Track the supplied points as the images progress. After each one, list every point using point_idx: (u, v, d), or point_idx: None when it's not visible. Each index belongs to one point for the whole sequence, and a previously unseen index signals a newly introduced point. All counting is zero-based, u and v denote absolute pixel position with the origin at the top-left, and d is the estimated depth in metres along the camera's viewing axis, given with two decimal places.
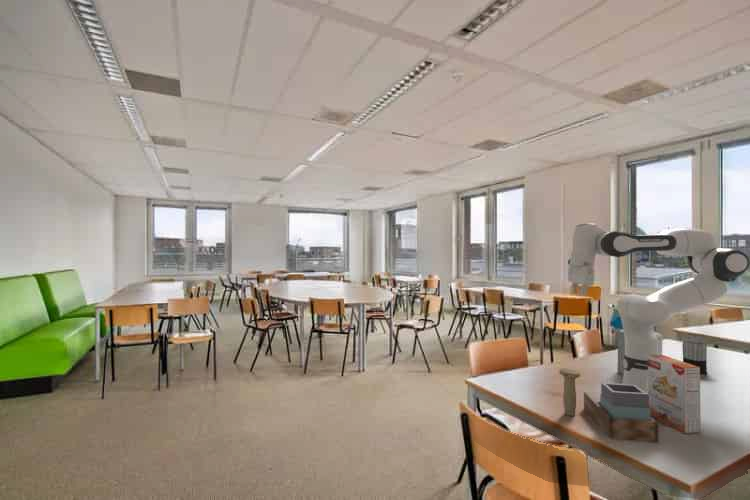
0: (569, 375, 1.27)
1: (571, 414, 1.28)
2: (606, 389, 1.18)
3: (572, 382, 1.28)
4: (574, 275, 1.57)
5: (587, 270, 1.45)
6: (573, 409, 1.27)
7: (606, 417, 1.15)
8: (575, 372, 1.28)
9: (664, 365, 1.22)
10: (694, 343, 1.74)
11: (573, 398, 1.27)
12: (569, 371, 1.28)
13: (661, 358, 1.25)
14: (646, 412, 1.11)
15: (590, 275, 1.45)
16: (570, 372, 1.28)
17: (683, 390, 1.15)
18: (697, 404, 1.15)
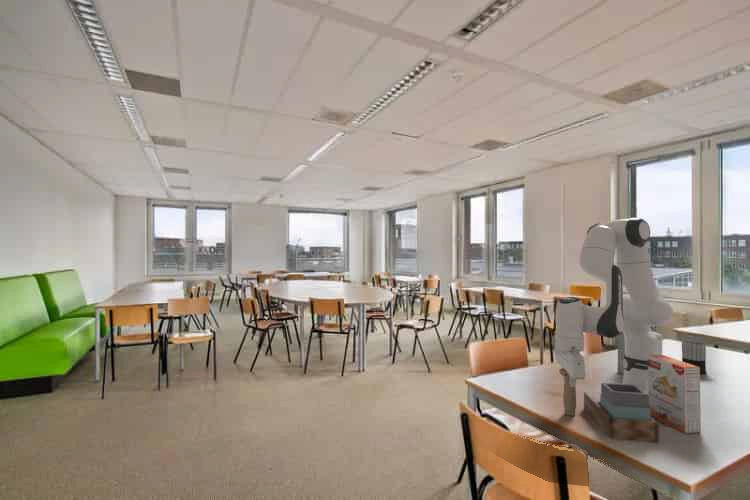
0: None
1: (571, 414, 1.28)
2: (606, 389, 1.18)
3: None
4: (562, 358, 1.32)
5: (575, 361, 1.20)
6: (573, 409, 1.27)
7: (606, 417, 1.15)
8: None
9: (664, 365, 1.22)
10: (693, 343, 1.74)
11: (573, 398, 1.27)
12: None
13: (661, 358, 1.25)
14: (646, 412, 1.11)
15: (580, 367, 1.20)
16: None
17: (683, 390, 1.15)
18: (697, 404, 1.15)
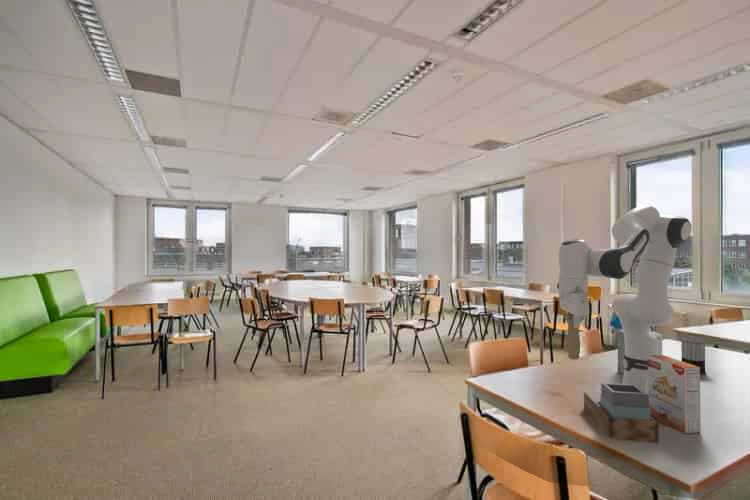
0: None
1: (575, 358, 1.27)
2: (606, 389, 1.18)
3: None
4: (566, 302, 1.31)
5: (580, 299, 1.20)
6: (577, 353, 1.27)
7: (606, 417, 1.15)
8: None
9: (664, 365, 1.22)
10: (692, 343, 1.74)
11: (577, 342, 1.26)
12: None
13: (661, 358, 1.25)
14: (646, 412, 1.11)
15: (584, 304, 1.19)
16: None
17: (683, 390, 1.15)
18: (697, 404, 1.15)
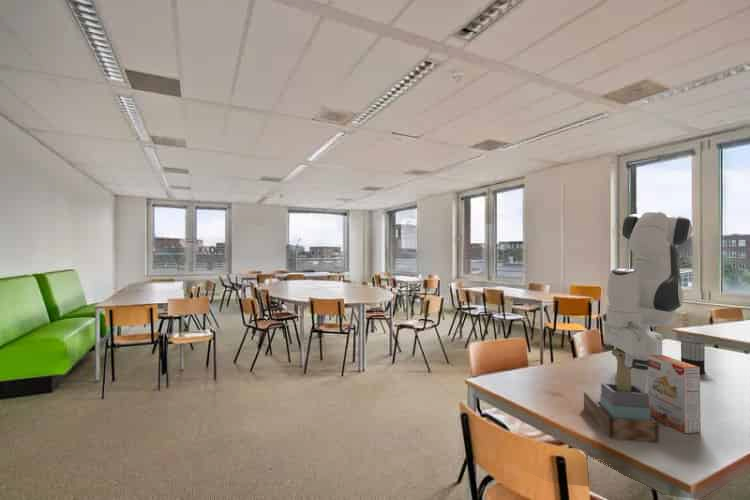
0: (625, 355, 1.15)
1: None
2: (606, 389, 1.18)
3: None
4: (614, 336, 1.20)
5: (635, 336, 1.08)
6: None
7: (606, 417, 1.15)
8: None
9: (664, 365, 1.22)
10: (692, 343, 1.74)
11: (628, 381, 1.15)
12: (624, 352, 1.16)
13: (661, 358, 1.25)
14: (646, 412, 1.11)
15: (640, 343, 1.08)
16: None
17: (683, 390, 1.15)
18: (697, 404, 1.15)
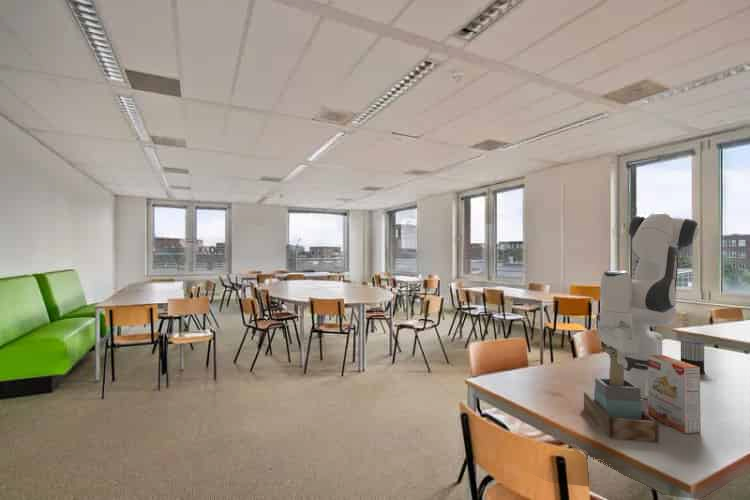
0: (617, 353, 1.20)
1: None
2: (600, 383, 1.23)
3: None
4: (607, 335, 1.25)
5: (626, 335, 1.13)
6: None
7: (606, 417, 1.15)
8: None
9: (664, 365, 1.22)
10: (691, 343, 1.74)
11: (621, 378, 1.20)
12: None
13: (661, 358, 1.25)
14: (637, 405, 1.17)
15: (631, 341, 1.13)
16: None
17: (683, 390, 1.15)
18: (697, 404, 1.15)
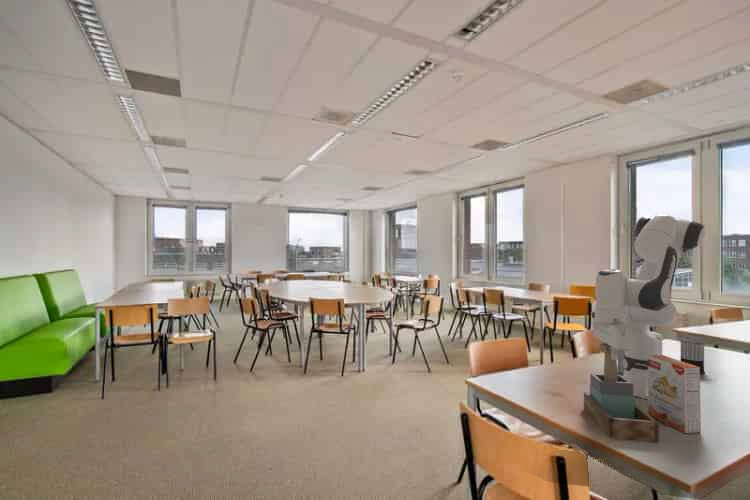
0: None
1: None
2: (594, 379, 1.28)
3: None
4: (602, 332, 1.29)
5: (619, 332, 1.18)
6: None
7: (606, 417, 1.15)
8: None
9: (664, 365, 1.22)
10: (691, 343, 1.74)
11: (615, 373, 1.25)
12: None
13: (661, 358, 1.25)
14: (631, 399, 1.21)
15: (624, 338, 1.17)
16: None
17: (683, 390, 1.15)
18: (697, 404, 1.15)
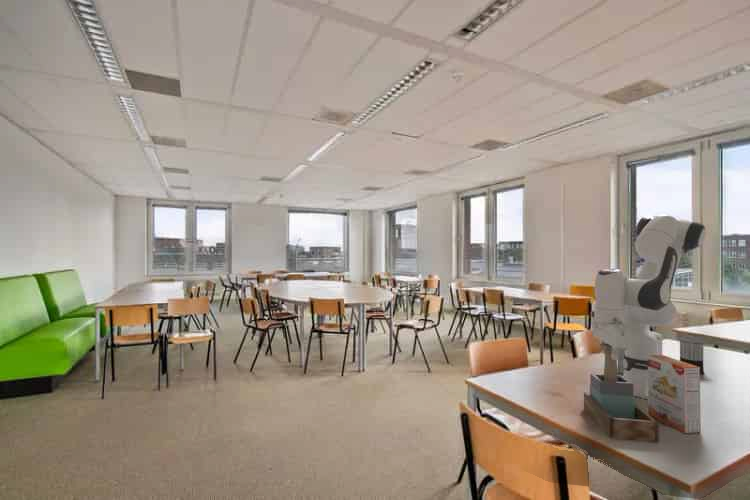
0: None
1: None
2: (594, 379, 1.28)
3: None
4: (601, 331, 1.30)
5: (619, 331, 1.18)
6: None
7: (606, 417, 1.15)
8: None
9: (664, 365, 1.22)
10: (690, 343, 1.74)
11: (615, 373, 1.25)
12: (611, 346, 1.26)
13: (661, 358, 1.25)
14: (631, 399, 1.21)
15: (623, 337, 1.18)
16: None
17: (683, 390, 1.15)
18: (697, 404, 1.15)
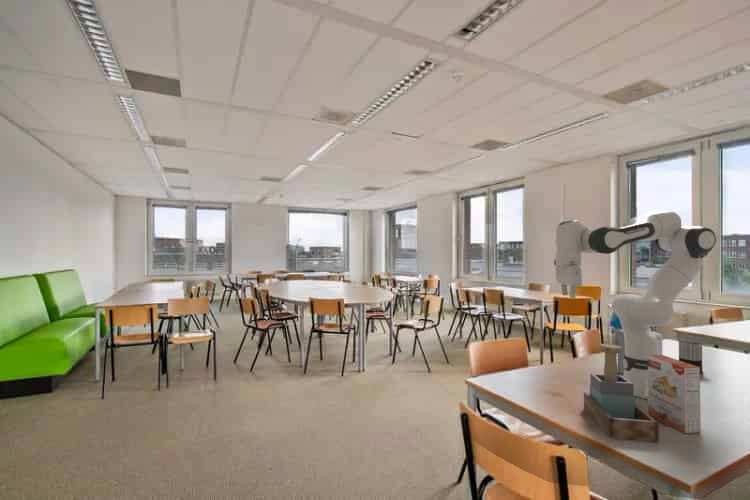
0: (612, 349, 1.24)
1: None
2: (594, 379, 1.28)
3: (614, 357, 1.25)
4: (562, 275, 1.49)
5: (573, 270, 1.37)
6: None
7: (606, 417, 1.15)
8: (617, 347, 1.25)
9: (664, 365, 1.22)
10: (689, 343, 1.74)
11: (615, 373, 1.25)
12: (611, 346, 1.26)
13: (661, 358, 1.25)
14: (631, 399, 1.21)
15: (577, 275, 1.37)
16: (612, 347, 1.25)
17: (683, 390, 1.15)
18: (697, 404, 1.15)
